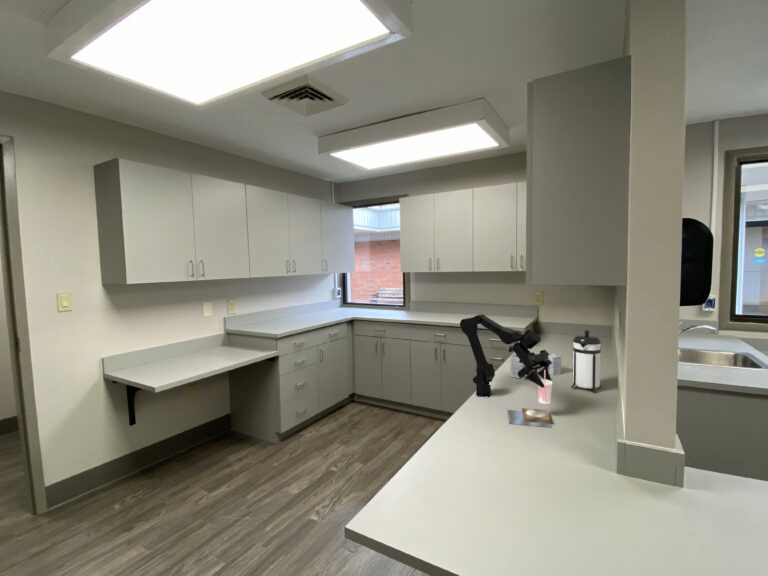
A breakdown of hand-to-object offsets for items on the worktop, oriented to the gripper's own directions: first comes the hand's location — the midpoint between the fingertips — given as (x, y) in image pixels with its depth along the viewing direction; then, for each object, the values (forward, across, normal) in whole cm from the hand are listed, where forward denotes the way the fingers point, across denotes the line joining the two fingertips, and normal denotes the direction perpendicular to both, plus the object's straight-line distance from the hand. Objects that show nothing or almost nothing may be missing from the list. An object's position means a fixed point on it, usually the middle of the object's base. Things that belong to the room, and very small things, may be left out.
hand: (547, 385), depth 158 cm
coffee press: (+6, +47, +13) cm, 50 cm away
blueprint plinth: (+7, -9, +12) cm, 16 cm away
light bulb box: (-11, +58, +31) cm, 66 cm away
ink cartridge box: (-16, +38, +36) cm, 54 cm away
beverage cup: (+5, 0, +6) cm, 8 cm away
